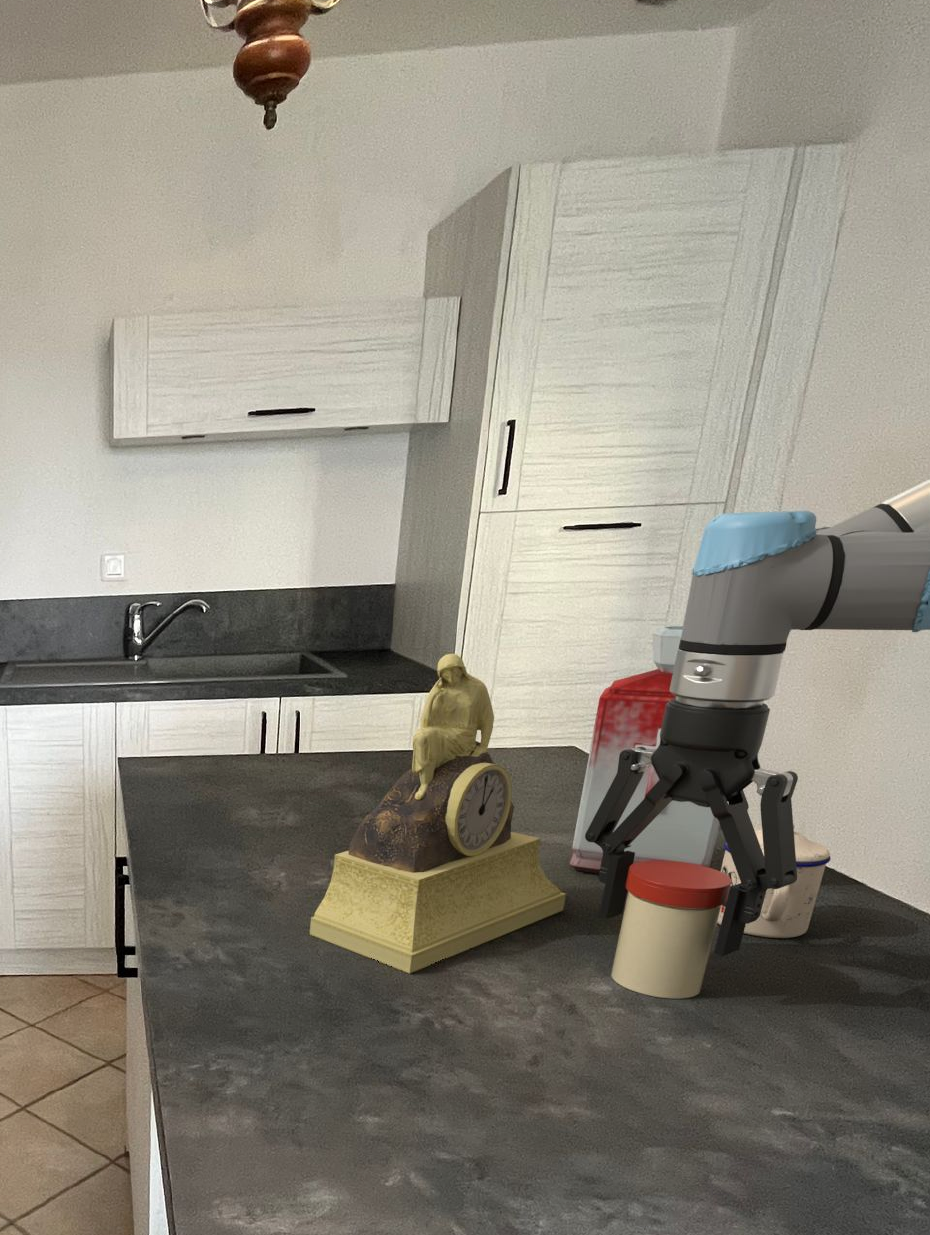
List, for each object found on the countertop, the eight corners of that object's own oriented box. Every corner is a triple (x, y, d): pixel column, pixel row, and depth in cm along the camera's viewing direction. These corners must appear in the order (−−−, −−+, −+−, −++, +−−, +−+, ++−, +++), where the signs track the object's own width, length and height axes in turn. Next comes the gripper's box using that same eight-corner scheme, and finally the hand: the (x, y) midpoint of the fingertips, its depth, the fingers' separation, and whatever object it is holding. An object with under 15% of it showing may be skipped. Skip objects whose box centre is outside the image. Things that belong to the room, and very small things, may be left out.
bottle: (566, 873, 124) (610, 631, 113) (576, 851, 132) (618, 622, 121) (704, 893, 116) (765, 634, 106) (705, 868, 124) (763, 624, 113)
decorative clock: (409, 973, 99) (446, 674, 89) (309, 934, 109) (331, 662, 99) (563, 910, 113) (611, 645, 102) (461, 880, 123) (495, 636, 113)
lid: (614, 875, 97) (617, 857, 96) (706, 880, 95) (711, 861, 94) (640, 905, 90) (644, 886, 89) (741, 910, 88) (746, 891, 87)
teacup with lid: (702, 904, 113) (725, 807, 109) (801, 915, 109) (828, 815, 105) (714, 942, 103) (740, 837, 99) (822, 956, 99) (854, 847, 95)
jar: (700, 975, 96) (724, 874, 93) (700, 1005, 91) (726, 899, 87) (613, 960, 100) (633, 862, 97) (608, 988, 95) (629, 886, 91)
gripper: (568, 689, 93) (532, 905, 101) (850, 724, 75) (778, 985, 83) (616, 680, 97) (577, 890, 105) (897, 712, 78) (823, 965, 86)
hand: (665, 932), depth 94 cm, fingers open, 10 cm apart
